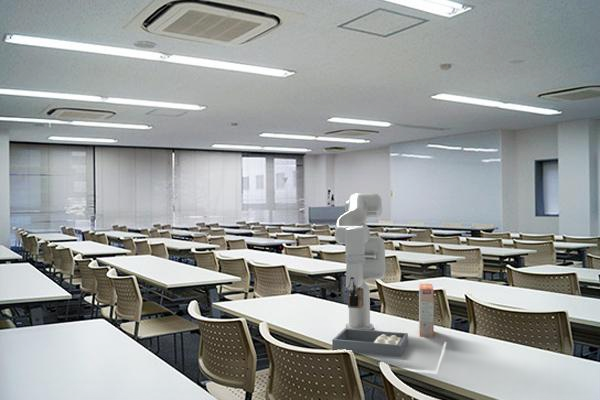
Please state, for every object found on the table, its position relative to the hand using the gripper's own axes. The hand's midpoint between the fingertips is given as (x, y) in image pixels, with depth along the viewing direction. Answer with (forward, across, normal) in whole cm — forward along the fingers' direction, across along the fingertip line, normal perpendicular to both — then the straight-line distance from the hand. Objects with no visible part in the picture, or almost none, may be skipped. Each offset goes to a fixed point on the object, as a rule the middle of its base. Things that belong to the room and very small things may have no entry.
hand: (355, 304), depth 206 cm
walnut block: (+1, 0, 0) cm, 1 cm away
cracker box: (+18, -29, +24) cm, 41 cm away
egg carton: (+16, 0, +12) cm, 20 cm away
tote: (+17, 0, +6) cm, 18 cm away
